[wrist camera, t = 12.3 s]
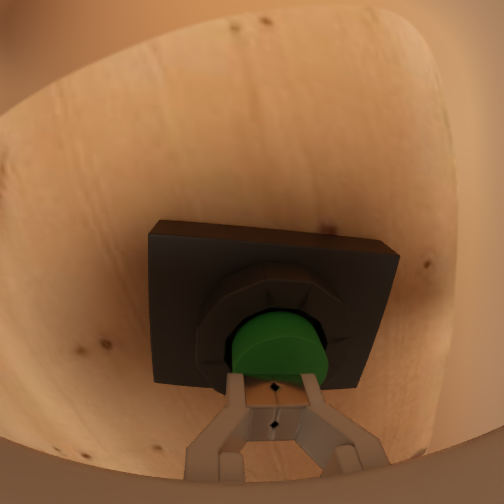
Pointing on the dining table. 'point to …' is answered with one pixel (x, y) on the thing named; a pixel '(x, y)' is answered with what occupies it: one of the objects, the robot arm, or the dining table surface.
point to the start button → (279, 346)
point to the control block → (260, 296)
